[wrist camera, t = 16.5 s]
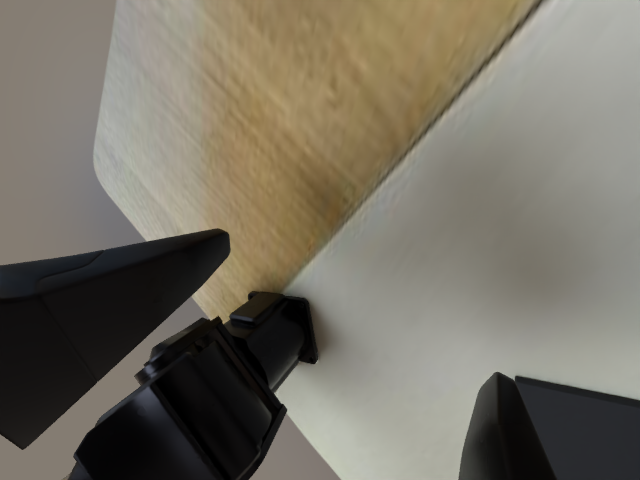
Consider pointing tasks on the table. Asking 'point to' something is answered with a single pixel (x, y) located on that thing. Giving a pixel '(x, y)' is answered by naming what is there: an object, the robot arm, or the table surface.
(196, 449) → the robot arm
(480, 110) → the table surface
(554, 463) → the mat
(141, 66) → the table surface
